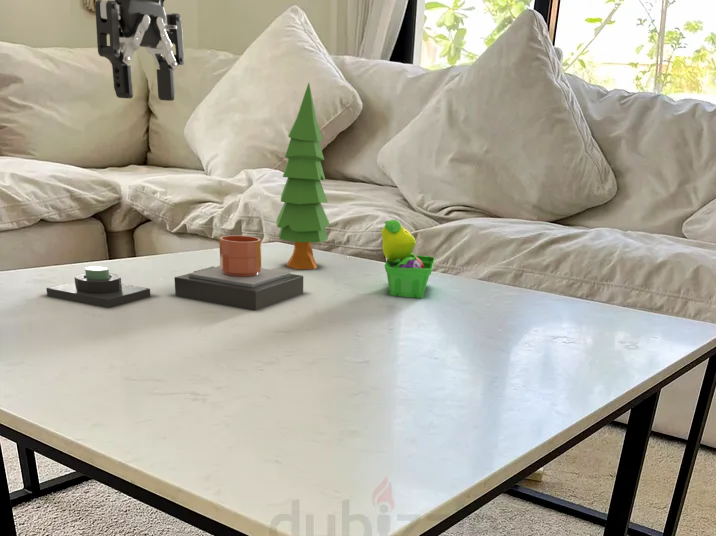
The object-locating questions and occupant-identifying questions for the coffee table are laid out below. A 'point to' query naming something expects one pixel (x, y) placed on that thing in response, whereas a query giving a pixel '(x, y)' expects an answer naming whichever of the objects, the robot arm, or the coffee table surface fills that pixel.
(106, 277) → the button
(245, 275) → the terracotta cup
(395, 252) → the fruit basket
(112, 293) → the dark grey button base
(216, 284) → the scale
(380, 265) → the coffee table surface
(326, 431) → the coffee table surface
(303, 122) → the decorative tree
